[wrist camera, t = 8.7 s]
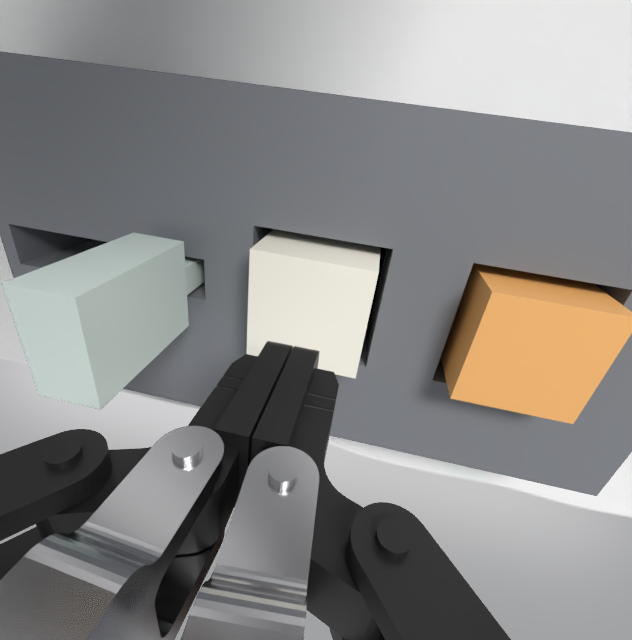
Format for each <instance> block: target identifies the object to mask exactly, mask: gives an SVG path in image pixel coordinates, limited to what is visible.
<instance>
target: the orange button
mask: <svg viewBox="0 0 632 640" xmlns="http://www.w3.org/2000/svg"><path fill="white" fill-rule="evenodd" d="M631 334H632V312H631V311H630V310H629V309H627V308H626V307H625V306H623V305H622V304H620V303H619V302H618V301H616V300H615V299H614V298H612V297H611V296H609V295H608V294H607V293H605V292H604V291H603V290H601V289H600V288H598V287H597V286H596V285H594V284H593V283H588V282H582V281H576V280H571V279H565V278H559V277H553V276H547V275H541V274H535V273H529V272H524V271H518V270H512V269H506V268H500V267H494V266H488V265H482V264H477V263H473V266H472V269H471V272H470V275H469V278H468V280H467V283H466V286H465V289H464V292H463V295H462V297H461V300H460V303H459V306H458V309H457V312H456V314H455V317H454V320H453V323H452V326H451V329H450V331H449V334H448V337H447V340H446V343H445V346H444V348H443V351H442V354H441V361H442V365H443V370H444V374H445V378H446V382H447V387H448V391H449V395H450V399H455V400H460V401H465V402H470V403H474V404H479V405H484V406H489V407H493V408H498V409H503V410H508V411H513V412H517V413H522V414H527V415H532V416H536V417H541V418H546V419H551V420H556V421H560V422H565V423H570V424H574V422H575V421H576V419H577V418H578V416H579V414H580V413H581V411H582V410H583V408H584V407H585V405H586V404H587V402H588V401H589V399H590V397H591V396H592V394H593V393H594V391H595V390H596V388H597V387H598V385H599V383H600V382H601V380H602V379H603V377H604V376H605V374H606V373H607V371H608V369H609V368H610V366H611V365H612V363H613V362H614V360H615V359H616V357H617V355H618V354H619V352H620V351H621V349H622V348H623V346H624V345H625V343H626V341H627V340H628V338H629V337H630V335H631Z"/></svg>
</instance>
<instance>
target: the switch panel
mask: <svg viewBox="0 0 632 640" xmlns="http://www.w3.org/2000/svg"><path fill="white" fill-rule="evenodd" d="M274 229H277V230H283V231H289V232H295V233H300V234H306V235H312V236H318V237H324V238H330V239H336V240H342V241H347V242H353V243H359V244H365V245H371V246H377V247H383V248H387V251H386V255H385V260H384V264H383V268H382V273H381V277H380V282H379V286H378V291H377V295H376V300H375V304H374V309H373V313H372V318H371V322H370V323H368V324H367V329H366V333H365V338H364V342H363V347H362V352H361V356H360V361H359V365H358V370H357V374H356V379H355V378H350V377H345V376H341V375H336V374H335V376H336V379H337V381H338V384H339V387H338V393H337V398H336V404H335V409H334V414H333V420H332V425H331V430H330V436H335V437H339V438H344V439H348V440H352V441H357V442H361V443H366V444H370V445H374V446H379V447H383V448H388V449H392V450H396V451H401V452H405V453H410V454H414V455H418V456H423V457H427V458H432V459H436V460H440V461H445V462H449V463H453V464H458V465H462V466H467V467H471V468H475V469H480V470H484V471H489V472H493V473H497V474H502V475H506V476H511V477H515V478H519V479H524V480H528V481H533V482H537V483H541V484H546V485H550V486H555V487H559V488H563V489H568V490H572V491H577V492H581V493H585V494H590V495H594V496H597V495H598V494H599V492H600V491H601V490H602V488H603V487H604V486H605V485H606V483H607V482H608V481H609V480H610V478H611V477H612V476H613V475H614V473H615V472H616V471H617V470H618V468H619V467H620V466H621V464H622V463H623V462H624V461H625V459H626V458H627V457H628V456H629V454H630V453H631V452H632V334H631V335H630V337H629V338H628V340H627V341H626V343H625V345H624V346H623V348H622V349H621V351H620V352H619V354H618V355H617V357H616V359H615V360H614V362H613V363H612V365H611V366H610V368H609V369H608V371H607V373H606V374H605V376H604V377H603V379H602V380H601V382H600V383H599V385H598V387H597V388H596V390H595V391H594V393H593V394H592V396H591V397H590V399H589V401H588V402H587V404H586V405H585V407H584V408H583V410H582V411H581V413H580V414H579V416H578V418H577V419H576V421H575V422H574V424H570V423H565V422H560V421H556V420H551V419H546V418H541V417H536V416H532V415H527V414H522V413H517V412H513V411H508V410H503V409H498V408H493V407H489V406H484V405H479V404H474V403H470V402H465V401H460V400H455V399H450V395H449V391H448V387H447V382H446V378H445V374H444V370H443V365H442V361H441V354H442V351H443V348H444V346H445V343H446V340H447V337H448V334H449V331H450V329H451V326H452V323H453V320H454V317H455V314H456V312H457V309H458V306H459V303H460V300H461V297H462V295H463V292H464V289H465V286H466V283H467V280H468V278H469V275H470V272H471V269H472V266H473V263H477V264H482V265H488V266H494V267H500V268H506V269H512V270H518V271H524V272H529V273H535V274H541V275H547V276H553V277H559V278H565V279H571V280H576V281H582V282H588V283H593V284H594V285H596V286H597V287H598V288H600V289H601V290H603V291H604V292H605V293H607V294H608V295H609V296H611V297H612V298H614V299H615V300H616V301H618V302H619V303H620V304H622V305H623V306H625V307H626V308H627V309H629V310H630V311H631V312H632V133H631V132H623V131H615V130H607V129H600V128H592V127H584V126H576V125H568V124H561V123H553V122H545V121H537V120H530V119H522V118H514V117H506V116H498V115H491V114H483V113H475V112H467V111H459V110H452V109H444V108H436V107H428V106H420V105H413V104H405V103H397V102H389V101H382V100H374V99H366V98H358V97H350V96H343V95H335V94H327V93H319V92H311V91H304V90H296V89H288V88H280V87H272V86H265V85H257V84H249V83H241V82H234V81H226V80H218V79H210V78H202V77H195V76H187V75H179V74H171V73H163V72H156V71H148V70H140V69H132V68H124V67H117V66H109V65H101V64H93V63H86V62H78V61H70V60H62V59H54V58H47V57H39V56H31V55H23V54H15V53H8V52H0V236H1V239H2V242H3V246H4V249H5V252H6V255H7V258H8V262H9V265H10V268H11V271H12V274H13V278H16V277H19V276H21V275H24V274H26V273H29V272H32V271H34V270H37V269H40V268H42V267H45V266H47V265H50V264H53V263H55V262H58V261H60V260H63V259H66V258H68V257H71V256H74V255H76V254H79V253H81V252H84V251H87V250H89V249H92V248H94V247H97V246H100V245H102V243H96V242H91V241H87V240H86V238H88V239H94V240H99V241H105V242H110V241H113V240H115V239H118V238H121V237H123V236H126V235H128V234H131V233H139V234H145V235H151V236H156V237H162V238H167V239H173V240H179V241H184V253H185V256H186V257H192V258H197V259H203V260H204V271H205V281H204V282H203V283H202V284H201V285H199V286H198V287H197V288H196V289H194V290H193V291H192V292H191V293H189V294H188V295H187V303H188V319H189V326H188V327H187V328H186V329H185V330H184V331H183V332H182V333H180V334H179V335H178V336H177V337H176V338H175V339H174V340H173V341H172V342H171V343H170V344H169V345H168V346H167V347H166V348H165V349H164V350H163V351H162V352H161V353H160V354H158V355H157V356H156V357H155V358H154V359H153V360H152V361H151V362H150V363H149V364H148V365H147V366H146V367H145V368H144V369H143V370H142V371H141V372H140V373H139V374H138V375H136V376H135V377H134V378H133V379H132V380H131V381H130V382H129V383H128V384H127V385H126V386H125V387H124V389H128V390H132V391H137V392H141V393H146V394H150V395H154V396H159V397H163V398H168V399H172V400H176V401H181V402H185V403H190V404H194V405H198V406H202V405H203V404H204V402H205V401H206V399H207V398H208V397H209V395H210V394H211V392H212V391H213V389H214V388H215V387H217V384H218V382H219V381H220V379H221V378H222V377H223V376H224V374H225V372H226V371H227V369H228V368H229V367H230V365H231V364H232V363H233V362H234V361H236V360H238V359H239V358H241V357H242V356H244V355H246V353H247V321H248V289H249V257H250V248H252V247H253V246H254V245H255V244H257V243H258V242H259V241H260V240H261V239H263V238H264V237H265V236H266V235H267V234H269V233H270V232H271V231H272V230H274Z"/></svg>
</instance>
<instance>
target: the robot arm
mask: <svg viewBox="0 0 632 640" xmlns="http://www.w3.org/2000/svg"><path fill="white" fill-rule="evenodd" d="M318 361H319V351H317V350H312V349H307V348H302V347H297V346H294V347H293V346H292V345H287V344H282V343H277V342H272V341H267V342H266V344H265V346H264V347H263V349H262V351H261V352H260V354H259V356H253V355H248V354H246V355H244V356H242V357H241V358H239V359H238V360H236V361H234V362H233V363H232V364H231V365H230V367H229V368H228V369H227V371H226V372H225V374H224V376H223V377H222V378H221V379H220V381H219V382H218V384H217V387H215V388H214V389H213V391H212V392H211V394H210V395H209V397H208V398H207V399H206V401H205V402H204V404H203V405H202V407H201V408H200V409H199V411H198V412H197V414H196V415H195V417H194V418H193V420H192V421H191V422H190V424H189V425H188V426H186V427H181V428H178V429H175V430H173V431H171V432H169V433H167V434H165V435H164V436H163V437H161V438H160V439H159V440H158V441H157V442H156V443H155V444H154V445H153V447H150V448H141V449H121V450H108V446H107V442H106V439H105V438H104V437H103V436H102V435H101V434H100V433H98V432H96V431H92V430H86V429H76V430H69V431H65V432H61V433H59V434H56V435H53V436H50V437H47V438H44V439H42V440H39V441H36V442H33V443H31V444H28V445H25V446H22V447H20V448H17V449H14V450H11V451H9V452H6V453H4V454H0V541H1V540H3V539H5V538H7V537H9V536H11V535H13V534H16V533H17V532H19V531H22V530H24V529H26V528H28V527H30V526H32V525H34V524H36V526H37V527H35V528H33V529H31V530H29V531H27V532H25V533H23V534H21V535H19V536H17V537H15V538H13V539H10V540H8V541H6V542H4V543H2V544H0V640H175V638H176V636H177V634H178V632H179V630H180V627H181V625H182V623H183V621H184V619H185V617H186V615H187V613H188V611H189V609H190V607H191V605H192V603H193V601H194V599H195V597H196V595H197V593H198V591H199V593H198V595H197V597H196V599H195V602H194V604H193V607H192V609H191V612H190V615H189V617H188V621H187V623H186V626H185V629H184V632H183V635H182V637H181V640H303V639H304V629H305V619H306V609H307V610H308V611H309V612H310V613H312V614H313V615H314V616H316V617H317V618H318V619H320V620H321V621H322V622H323V623H325V624H326V625H327V626H329V627H330V632H331V635H332V638H333V640H511V639H510V638H509V637H508V636H507V634H506V633H505V632H504V630H503V629H502V628H501V626H500V625H499V624H498V622H497V621H496V620H495V618H494V617H493V616H492V615H491V613H490V612H489V611H488V609H487V608H486V607H485V605H484V604H483V603H482V601H481V600H480V599H479V597H478V596H477V595H476V594H475V592H474V591H473V590H472V588H471V587H470V586H469V584H468V583H467V582H466V580H465V579H464V578H463V577H462V575H461V574H460V573H459V571H458V570H457V569H456V567H455V566H454V565H453V563H452V562H451V561H450V560H449V558H448V557H447V556H446V554H445V553H444V552H443V550H442V549H441V548H440V547H439V545H438V544H437V543H436V541H435V540H434V539H433V537H432V536H431V535H430V533H429V532H428V531H427V530H426V528H425V527H424V525H423V524H422V523H421V522H420V521H419V520H418V519H417V518H416V517H415V516H414V515H413V514H412V513H410V512H409V511H407V510H406V509H404V508H402V507H400V506H397V505H395V504H391V503H381V502H380V503H373V504H371V505H368V506H366V507H364V508H363V507H361V506H360V505H358V504H356V503H355V502H353V501H351V500H350V499H348V498H346V497H345V496H343V495H342V494H341V493H340V492H338V491H337V490H336V489H335V488H334V486H333V485H332V484H331V482H330V481H329V479H328V477H327V475H326V472H325V469H324V460H325V455H326V450H327V445H328V440H329V435H330V430H331V425H332V420H333V414H334V409H335V404H336V398H337V393H338V387H339V384H338V381H337V379H336V376H335V374H334V372H332V371H327V370H322V369H317V368H318ZM233 508H235V509H234V511H233ZM232 511H233V514H232V517H231V521H230V523H229V527H228V529H227V533H226V535H225V539H224V542H223V538H224V533H225V527H226V525H227V522H228V520H229V518H230V515H231V513H232ZM222 542H223V545H222V547H221V551H220V553H219V556H218V559H217V562H216V565H215V568H214V571H213V573H212V576H211V578H210V579H209V580H208V581H206V582H205V583H204V584H203V585H202V583H203V581H204V579H205V577H206V575H207V573H208V571H209V569H210V567H211V565H212V563H213V561H214V559H215V556H216V555H217V553H218V550H219V548H220V546H221V544H222ZM201 585H202V587H201ZM200 587H201V589H200ZM199 589H200V590H199Z"/></svg>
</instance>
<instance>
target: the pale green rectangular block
mask: <svg viewBox="0 0 632 640" xmlns="http://www.w3.org/2000/svg"><path fill="white" fill-rule="evenodd" d="M204 281H205V271H204V260H203V259H197V258H192V257H186V256H185V253H184V241H179V240H173V239H167V238H162V237H156V236H151V235H145V234H139V233H131V234H128V235H126V236H123V237H121V238H118V239H115V240H113V241H110V242H108V243H105V244H102V245H100V246H97V247H94V248H92V249H89V250H87V251H84V252H81V253H79V254H76V255H74V256H71V257H68V258H66V259H63V260H60V261H58V262H55V263H53V264H50V265H47V266H45V267H42V268H40V269H37V270H34V271H32V272H29V273H26V274H24V275H21V276H19V277H16V278H13V279H11V280H8V281H6V282H3V283H1V284H2V287H3V290H4V293H5V296H6V299H7V302H8V305H9V308H10V311H11V314H12V317H13V320H14V323H15V326H16V329H17V332H18V335H19V338H20V341H21V344H22V347H23V350H24V353H25V356H26V359H27V362H28V365H29V368H30V371H31V374H32V376H33V379H34V383H35V386H36V388H37V391H38V394H39V395H40V396H44V397H49V398H53V399H57V400H61V401H66V402H70V403H74V404H78V405H83V406H87V407H91V408H95V409H100V410H101V409H102V408H103V407H104V406H105V405H106V404H107V403H108V402H109V401H110V400H111V399H112V398H113V397H114V396H116V395H117V394H118V393H119V392H120V391H121V390H122V389H123V388H124V387H125V386H126V385H127V384H128V383H129V382H130V381H131V380H132V379H133V378H134V377H135V376H136V375H138V374H139V373H140V372H141V371H142V370H143V369H144V368H145V367H146V366H147V365H148V364H149V363H150V362H151V361H152V360H153V359H154V358H155V357H156V356H157V355H158V354H160V353H161V352H162V351H163V350H164V349H165V348H166V347H167V346H168V345H169V344H170V343H171V342H172V341H173V340H174V339H175V338H176V337H177V336H178V335H179V334H180V333H182V332H183V331H184V330H185V329H186V328H187V327H188V326H189V319H188V303H187V295H188V294H189V293H191V292H192V291H193V290H194V289H196V288H197V287H198V286H199V285H201V284H202V283H203V282H204Z"/></svg>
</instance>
